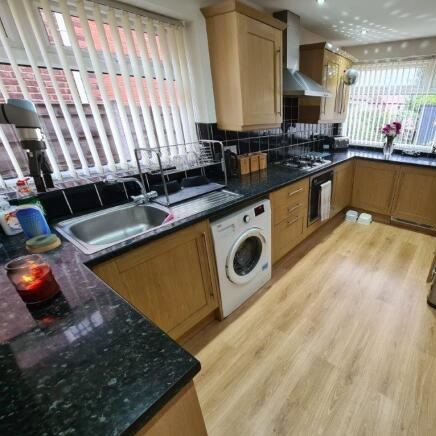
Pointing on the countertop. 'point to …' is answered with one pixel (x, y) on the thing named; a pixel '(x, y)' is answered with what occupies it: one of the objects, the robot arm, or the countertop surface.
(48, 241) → the green frosted donut
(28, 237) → the blue canister
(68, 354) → the countertop surface
